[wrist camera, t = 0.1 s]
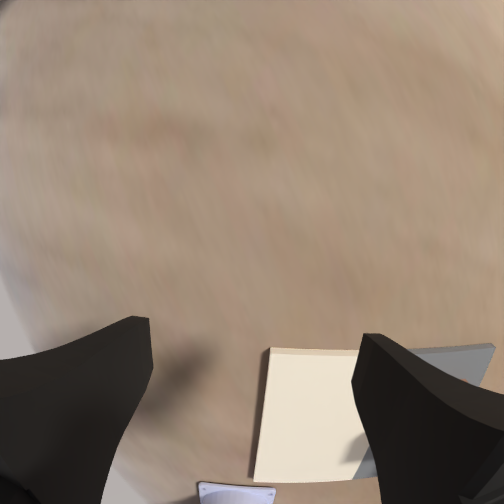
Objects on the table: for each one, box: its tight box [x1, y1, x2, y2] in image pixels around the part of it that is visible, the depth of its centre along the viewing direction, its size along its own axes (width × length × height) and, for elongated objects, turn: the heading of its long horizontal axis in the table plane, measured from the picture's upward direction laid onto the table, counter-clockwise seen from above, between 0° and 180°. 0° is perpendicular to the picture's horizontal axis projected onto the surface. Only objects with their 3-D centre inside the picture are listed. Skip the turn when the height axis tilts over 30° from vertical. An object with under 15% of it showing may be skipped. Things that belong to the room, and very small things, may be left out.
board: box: [253, 343, 496, 483], centre depth 23 cm, size 16×20×1 cm
